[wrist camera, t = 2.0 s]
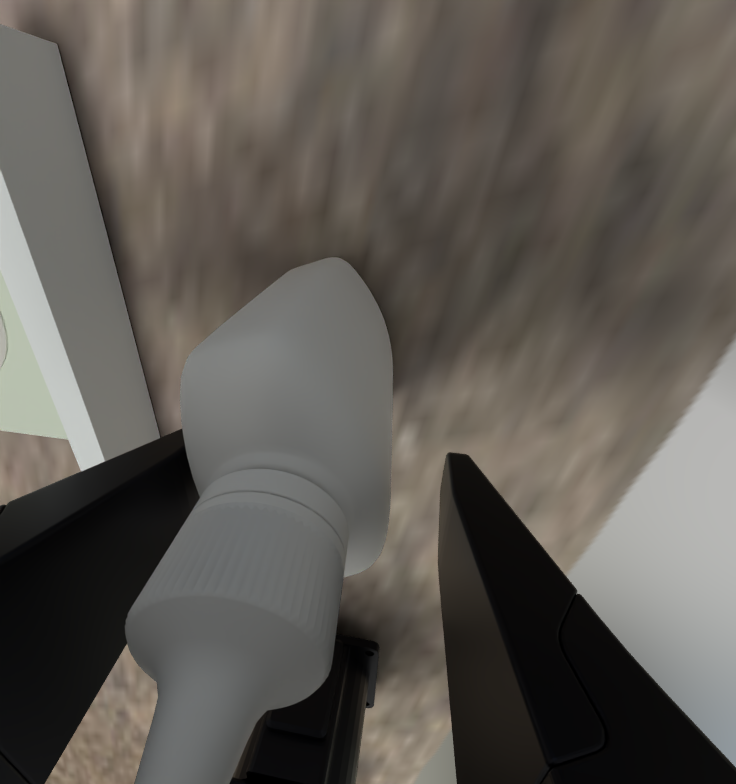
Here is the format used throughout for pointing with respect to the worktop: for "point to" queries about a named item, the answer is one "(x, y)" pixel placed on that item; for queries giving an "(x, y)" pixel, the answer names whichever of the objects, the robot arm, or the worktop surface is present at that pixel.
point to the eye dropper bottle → (266, 516)
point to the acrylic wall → (64, 259)
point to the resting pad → (22, 379)
